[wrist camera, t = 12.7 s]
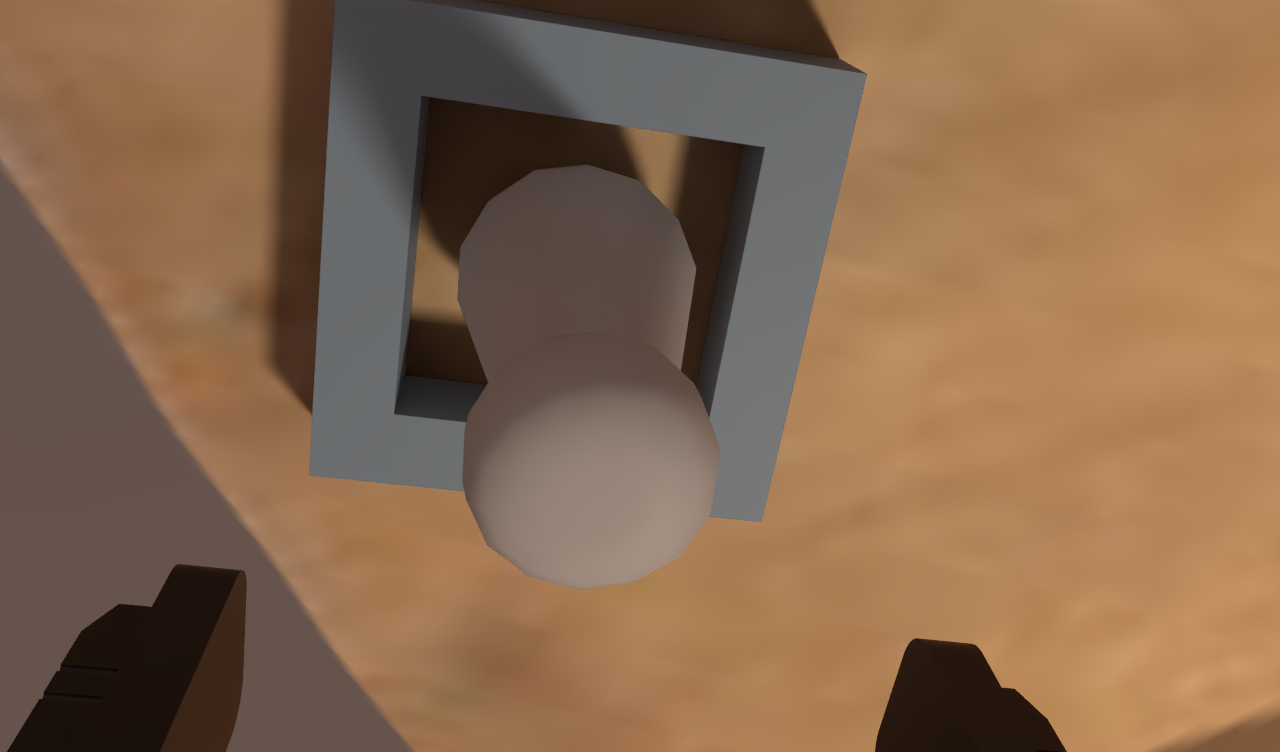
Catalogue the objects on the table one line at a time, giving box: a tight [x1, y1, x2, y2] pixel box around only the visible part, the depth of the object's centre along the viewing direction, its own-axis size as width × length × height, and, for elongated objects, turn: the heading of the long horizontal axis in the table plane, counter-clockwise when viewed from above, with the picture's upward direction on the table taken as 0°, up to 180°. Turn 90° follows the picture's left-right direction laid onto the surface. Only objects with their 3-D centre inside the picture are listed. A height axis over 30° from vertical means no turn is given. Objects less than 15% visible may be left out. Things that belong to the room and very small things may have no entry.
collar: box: [309, 0, 867, 522], centre depth 28 cm, size 12×12×2 cm
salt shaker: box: [458, 164, 720, 590], centre depth 23 cm, size 6×6×13 cm
